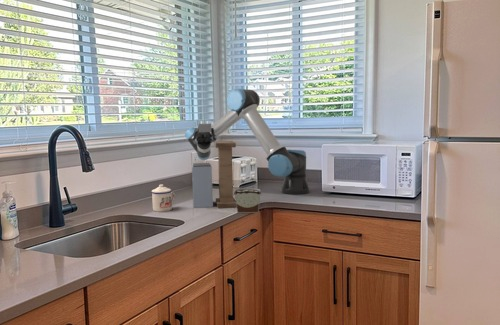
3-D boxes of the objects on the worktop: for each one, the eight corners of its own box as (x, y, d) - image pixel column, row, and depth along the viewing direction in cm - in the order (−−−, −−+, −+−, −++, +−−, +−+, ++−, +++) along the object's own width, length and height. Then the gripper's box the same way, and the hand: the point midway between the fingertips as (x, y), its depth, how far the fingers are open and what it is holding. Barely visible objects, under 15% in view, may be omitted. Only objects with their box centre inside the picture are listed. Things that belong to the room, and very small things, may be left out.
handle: (198, 130, 232) (198, 123, 231) (209, 130, 233) (209, 122, 232) (198, 132, 213) (198, 124, 213) (211, 132, 214) (211, 123, 213)
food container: (262, 209, 198) (262, 187, 197) (261, 212, 192) (261, 190, 191) (235, 209, 199) (235, 187, 198) (233, 212, 193) (233, 190, 192)
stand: (215, 202, 216) (214, 141, 213) (233, 201, 218) (232, 141, 214) (217, 208, 203) (215, 143, 199) (237, 207, 204) (235, 142, 200)
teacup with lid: (160, 212, 196) (159, 187, 194) (148, 210, 201) (147, 185, 200) (181, 208, 205) (180, 183, 203) (168, 205, 210) (167, 181, 209)
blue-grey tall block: (193, 202, 216) (191, 163, 214) (211, 202, 217) (210, 162, 215) (193, 207, 205) (192, 166, 203) (212, 206, 206) (211, 165, 204)
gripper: (218, 149, 244) (219, 129, 223) (190, 150, 243) (189, 130, 221) (217, 137, 247) (219, 116, 226) (189, 137, 245) (188, 117, 224)
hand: (204, 123), depth 224 cm, fingers closed on handle, 2 cm apart
